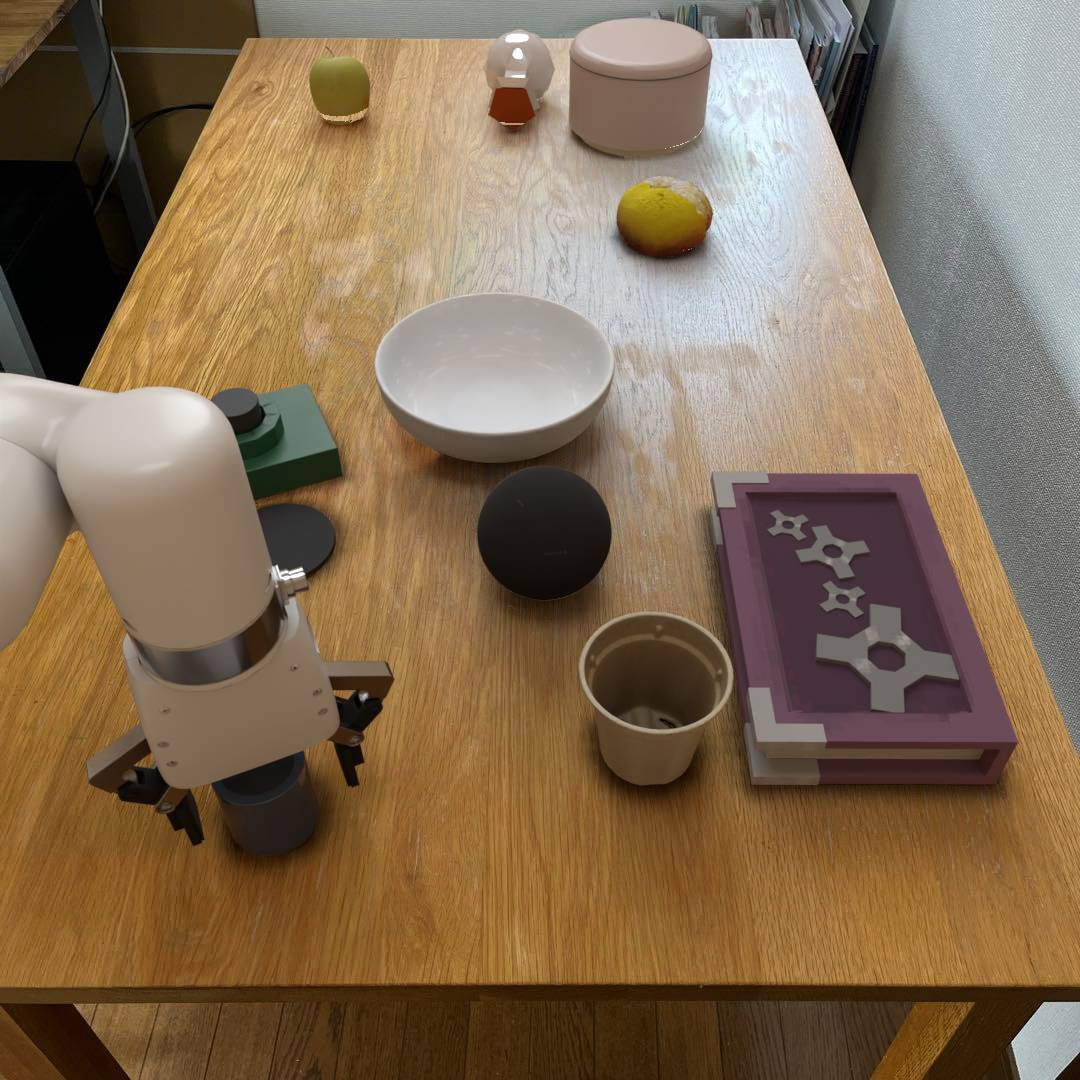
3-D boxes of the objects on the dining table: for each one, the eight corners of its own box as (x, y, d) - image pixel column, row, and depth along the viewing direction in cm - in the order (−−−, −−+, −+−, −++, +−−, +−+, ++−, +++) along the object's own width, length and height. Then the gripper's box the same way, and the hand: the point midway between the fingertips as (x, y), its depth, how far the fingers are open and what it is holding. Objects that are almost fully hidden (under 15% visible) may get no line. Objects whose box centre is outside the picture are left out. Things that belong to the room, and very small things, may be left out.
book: (705, 517, 86) (712, 471, 82) (901, 517, 86) (917, 471, 82) (746, 785, 68) (757, 741, 64) (994, 786, 68) (1019, 742, 64)
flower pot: (702, 827, 66) (718, 750, 60) (559, 789, 68) (560, 710, 62) (727, 710, 72) (744, 629, 66) (596, 679, 74) (600, 597, 68)
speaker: (547, 649, 76) (548, 554, 69) (453, 581, 81) (444, 485, 74) (635, 576, 81) (643, 480, 74) (541, 516, 86) (540, 420, 79)
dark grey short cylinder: (219, 441, 86) (213, 421, 84) (209, 413, 88) (204, 394, 87) (267, 428, 87) (262, 409, 85) (256, 402, 89) (252, 382, 88)
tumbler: (240, 869, 64) (219, 818, 59) (222, 796, 67) (200, 742, 63) (329, 836, 65) (314, 784, 61) (307, 766, 69) (291, 712, 65)
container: (554, 154, 134) (555, 60, 125) (582, 99, 146) (585, 10, 138) (694, 168, 131) (704, 72, 122) (711, 110, 143) (721, 20, 135)
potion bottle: (532, 96, 150) (523, 153, 141) (475, 56, 146) (462, 112, 137) (570, 45, 144) (563, 102, 135) (512, 2, 140) (500, 57, 131)
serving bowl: (432, 524, 85) (425, 460, 80) (352, 385, 99) (342, 323, 94) (653, 453, 91) (659, 390, 87) (550, 332, 105) (550, 271, 100)
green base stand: (177, 521, 86) (162, 475, 82) (158, 449, 92) (142, 404, 89) (343, 476, 89) (334, 430, 86) (313, 410, 96) (304, 365, 92)
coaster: (234, 599, 79) (233, 596, 79) (212, 524, 85) (210, 521, 85) (349, 565, 82) (348, 562, 82) (319, 495, 88) (318, 491, 88)
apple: (360, 129, 137) (331, 49, 131) (315, 136, 141) (284, 59, 135) (392, 106, 142) (365, 29, 136) (347, 114, 146) (319, 40, 140)
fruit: (734, 243, 117) (726, 183, 110) (655, 288, 116) (642, 230, 109) (681, 198, 124) (671, 140, 117) (606, 241, 123) (592, 184, 116)
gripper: (351, 519, 57) (387, 704, 69) (21, 617, 53) (122, 797, 65) (393, 613, 53) (424, 795, 65) (33, 730, 48) (139, 902, 60)
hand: (273, 796), depth 65 cm, fingers open, 9 cm apart
